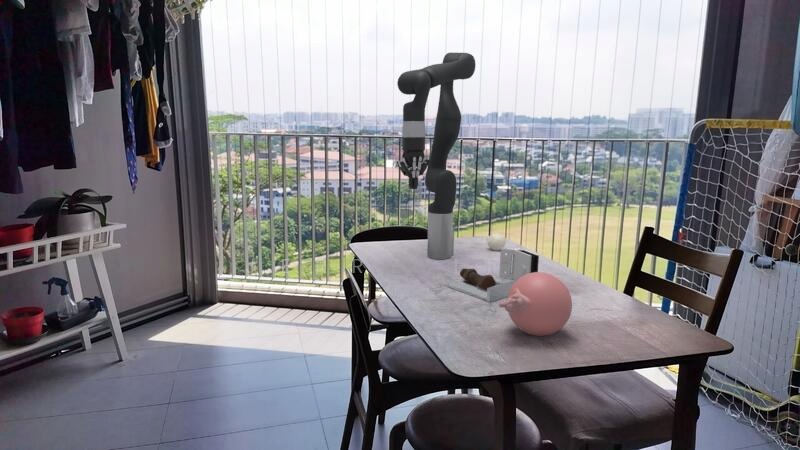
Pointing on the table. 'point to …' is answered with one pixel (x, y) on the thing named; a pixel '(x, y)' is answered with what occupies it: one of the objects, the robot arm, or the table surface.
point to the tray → (472, 289)
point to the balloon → (538, 304)
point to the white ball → (496, 241)
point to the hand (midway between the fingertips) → (413, 188)
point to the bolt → (477, 278)
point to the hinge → (517, 263)
